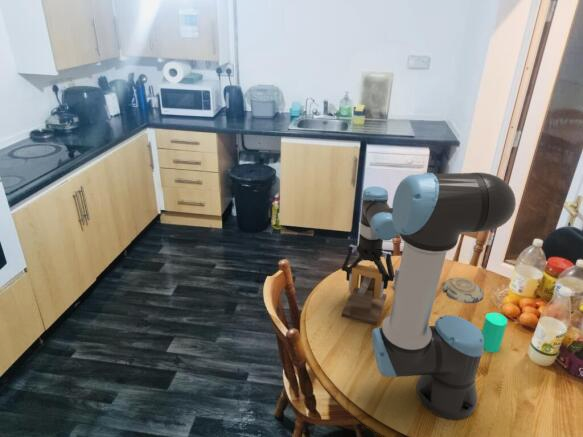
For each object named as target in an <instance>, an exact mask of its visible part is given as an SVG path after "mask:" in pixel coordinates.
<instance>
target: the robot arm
mask: <svg viewBox="0 0 583 437" xmlns="http://www.w3.org/2000/svg"><path fill="white" fill-rule="evenodd" d="M515 196H516V195H515V192H514V191H513V189H512V187H511V185H510V184H508V183H507V182H506V181H505V180H503V179H502V178H501V177H499V176H497V175H494V174H490V173H487V172H462V173H459V172H457V173H456V172H454V173H452V172H451V173H433V172H424V173H422V174H421V173H418V174H410V175H407V176H406V177H405V178H403V179H402V180H401V181H400V182H399V183H398V186H397V188H396V190H395V193H394V196H393V200H392V205H391V206H392V207H390V206H389V203H388V200H389V192H388V190H387V189H386V188H384V187H381V186H368V187H366V188H364V190H363V194H362V198H361V210H360V211H361V212H360V215H361V216H360V223H359V237H358V245H355V244H354V243H350V245H349V246H348V251H347V256H346V257H345V259H344V262H343V264H342V267H341V271H342V272H346V279H345V280H346V281H347V282H348V291H350V289H351V276H352V268H355V267H356V265H357V264H359V263H360V262H361V261H362V260H364V261H368V262H370V263H371V262H372V263H374V266H375V267H377V268H378V270H379V272H380V274H382V278H383V279H382V281H381V290H380V298H382V296H383V294H384V293H385V292H384V291H385V290H387V288H388V286H389V282H394V278H395V271H394V266H393V262H392V254H393V253H392V251H391V250H388V251H386V250H385V251H384V248H383V242H384V241H392V240H393V239H396V238H397V236H398V235H399V237H400V239H401V240H402V242H403V248H402V253H401V258H400V263H399V267H398V268H399V274H398V279H397V284H396V290H395V289H394V296H393V301H392V306H391V313H390V314H389V315H387V316H386V317H385V318H383V321H382V324H381V327H379V326H378V327H376V328H373V329H372V332H371V342H372V349H373V354H374V359H375V364H376V365H377V366H376V367H377V369H378V371H379V373H380V374H381V375H382V376H383V377H386V378H387V377H392V378H393V377H394V378H398V377H400V378H401V377H414V376H415V377H417V376H418V379H417V383H416V389H415V390H416V394H417V398H418V400H419V401H420V403H421V404H422V406H424V407H425V408H426V409H427V410H428V411H429V412H431V413H432V414H434V415H435V416H438V417H440V418H444V419H448V420H463V419H466V418H468V417H470V416H471V415H472V414H473V413H474V411H475V410H476V407H477V403H478V393H477V388H476V381H475V379H476V377H477V374H478V369H479V365H480V361H481V358H482V356H483V353H484V349H483V346H484V337H483V335H482V330H480V329H479V328H478V326H476V324H474V323H472V322H471V321H469V320H467V319H465V318H463V317H460V316H457V315H453V314H452V315H451V314H450V315H449V314H445V315H441V316H439V318H437V319H436V320H435V322H434V325H429V322H430V318H431V314H432V310H433V307H434V301H435V299H436V294H437V290H438V287H439V282H440V279H441V275H442V271H443V268H444V263H445V259H446V256H447V252H449V251H451V250H453V249H454V248H455V247H456V246H457V244H458V240H459V237H460V234H462V233H480V232H487V231H492V230H496V229H498V228H499V227H502V226H504V225H505V224H506V223H507V222H509V220H511V218H512V217H513V215H514V212H515V210H516V197H515ZM356 251H357V253H358V256H357V257H356V258H355V260H354V261H353V262H352V263H351V264H350V266H348V265H349V262H350V260H351V258H352V255H353V253H355V252H356ZM382 256H383V258H384V260H385V264H386V268H385V266H384V264H383V261H382V258H381V257H382Z"/></svg>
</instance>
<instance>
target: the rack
mask: <svg viewBox="0 0 583 437" xmlns="http://www.w3.org/2000/svg"><path fill="white" fill-rule="evenodd" d="M368 267H373V268H376V266H375V265H369V266H368ZM359 280H360V281H359V287H358V288H356V287H355V288H354V290H353V293H349V296H348V298H347V300H346V303H345V305H344V307H343V309H342V310H341V316H340V317H342V318H347V319H350V320H355V321H358V322H361V323H362V322H363V323H366V324H369V325H374V326H378V322H379V320H380V317H381V314H382V311H383V308H384V305H385V302H386V299H387V293H383V296H382V298H380V299H374V298H373V297H374V288H375V278H372V277H367V276H363V275H360V278H359Z"/></svg>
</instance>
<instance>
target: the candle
mask: <svg viewBox="0 0 583 437" xmlns="http://www.w3.org/2000/svg"><path fill="white" fill-rule="evenodd" d="M508 321H509V320H508V318H507V317H506V316H504V314H501V313H499V312H490V313H489V312H488V313H486V314H485V319H484V321H483V326H482V330H481V333H482V335H483V337H484V346H483V351H486V352H488V353H498V352H499V351H500V349H501V345H502V342H503V338H504V334H505V331H506V328H507V324H508Z"/></svg>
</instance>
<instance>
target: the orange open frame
mask: <svg viewBox="0 0 583 437" xmlns="http://www.w3.org/2000/svg"><path fill="white" fill-rule="evenodd" d="M361 275H363V276H367V277H372V278H375V288H374V297H373V298H374V299H380V290H381V281H382V279H383V278H382V274H380V272H379V270H378V268H376V267H375V268H373V267H369V266H368V265H363V264H359V263H358V264H357V265H356V267H355V268H352V276H351V289H350V292H349V294H351V293H353V290H354V288H355V287H356V288H359V286H360V281H359V280H360V276H361Z"/></svg>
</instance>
